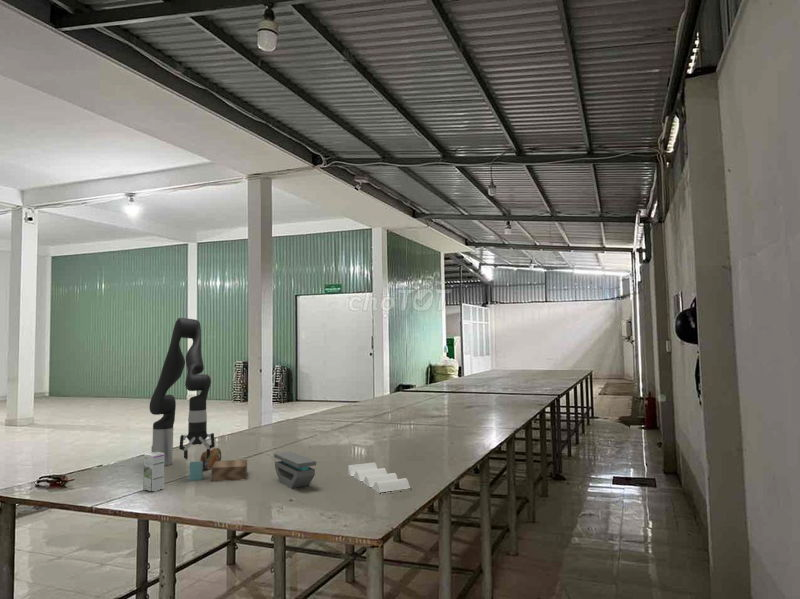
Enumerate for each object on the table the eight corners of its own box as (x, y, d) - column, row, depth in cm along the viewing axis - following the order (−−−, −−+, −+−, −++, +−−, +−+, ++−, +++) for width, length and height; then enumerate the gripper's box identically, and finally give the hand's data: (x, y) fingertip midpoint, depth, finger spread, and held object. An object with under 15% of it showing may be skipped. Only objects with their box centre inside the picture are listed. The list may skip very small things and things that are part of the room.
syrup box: (164, 489, 225) (165, 452, 226) (151, 492, 219) (152, 455, 221) (155, 487, 227) (156, 451, 228) (142, 490, 222) (143, 453, 223)
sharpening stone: (273, 479, 240) (274, 453, 241) (290, 476, 244) (291, 451, 245) (297, 492, 219) (298, 463, 220) (316, 489, 224) (316, 461, 225)
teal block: (189, 480, 238) (189, 464, 238) (190, 478, 243) (190, 461, 243) (201, 480, 239) (201, 463, 240) (202, 477, 244) (202, 461, 245)
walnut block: (211, 482, 236) (211, 467, 237) (214, 474, 250) (214, 461, 250) (245, 480, 240) (245, 466, 240) (246, 473, 253) (247, 459, 254)
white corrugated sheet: (381, 496, 214) (381, 483, 215) (348, 477, 246) (348, 465, 246) (411, 492, 220) (411, 479, 221) (375, 473, 251) (375, 462, 252)
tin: (205, 471, 256) (205, 452, 256) (198, 471, 256) (199, 452, 257) (221, 464, 270) (222, 446, 271) (215, 464, 271) (216, 446, 272)
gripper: (215, 418, 249) (214, 455, 247) (180, 420, 245) (180, 458, 243) (214, 420, 241) (213, 459, 240) (179, 422, 237) (178, 461, 236)
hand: (197, 458), depth 242 cm, fingers open, 8 cm apart
